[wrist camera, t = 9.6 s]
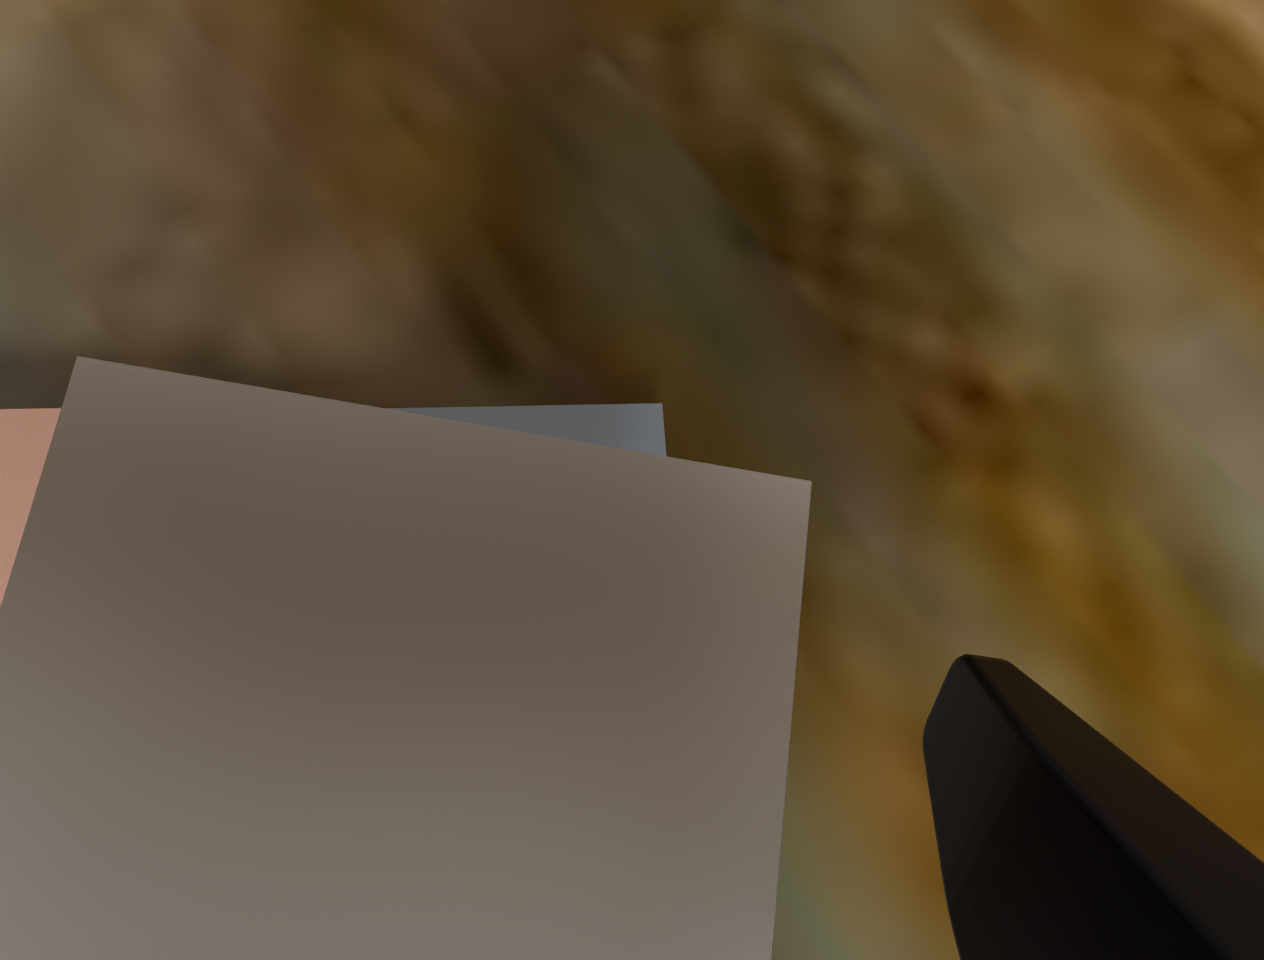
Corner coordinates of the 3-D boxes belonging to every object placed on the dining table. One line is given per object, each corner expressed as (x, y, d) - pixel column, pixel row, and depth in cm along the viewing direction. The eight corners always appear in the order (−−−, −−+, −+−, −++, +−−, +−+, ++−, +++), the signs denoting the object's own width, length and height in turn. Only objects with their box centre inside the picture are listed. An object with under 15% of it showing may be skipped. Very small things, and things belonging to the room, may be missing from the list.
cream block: (576, 964, 15) (742, 1316, 6) (240, 925, 15) (-193, 1241, 5) (620, 636, 17) (811, 481, 7) (313, 590, 16) (77, 354, 7)
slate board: (722, 1298, 15) (743, 1346, 14) (-157, 1441, 13) (-222, 1512, 12) (652, 420, 19) (664, 397, 18) (-52, 435, 17) (-95, 410, 16)
